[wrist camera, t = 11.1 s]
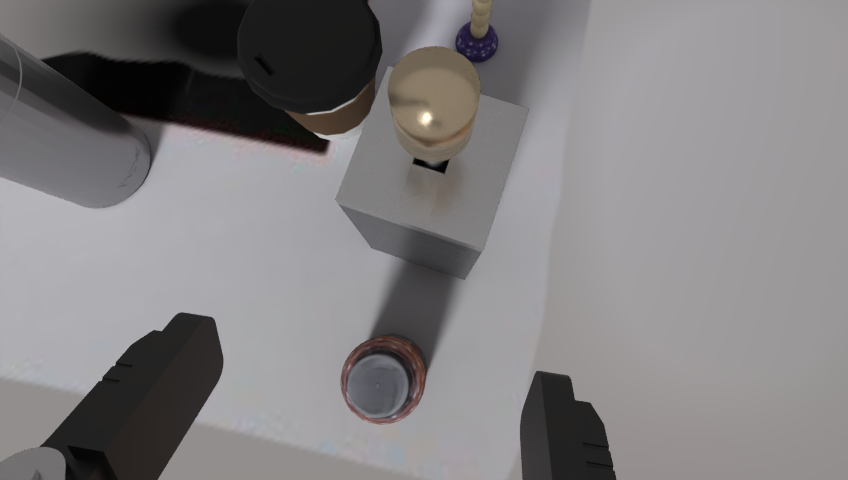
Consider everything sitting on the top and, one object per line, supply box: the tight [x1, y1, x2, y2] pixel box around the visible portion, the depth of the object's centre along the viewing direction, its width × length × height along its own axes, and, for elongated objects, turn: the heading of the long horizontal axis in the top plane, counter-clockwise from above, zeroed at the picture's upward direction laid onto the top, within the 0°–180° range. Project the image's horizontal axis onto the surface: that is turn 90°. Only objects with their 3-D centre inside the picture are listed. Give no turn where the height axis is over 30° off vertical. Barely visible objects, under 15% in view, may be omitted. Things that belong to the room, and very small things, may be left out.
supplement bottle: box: [341, 334, 427, 424], centre depth 34 cm, size 6×6×11 cm
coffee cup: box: [237, 0, 383, 141], centre depth 39 cm, size 11×11×12 cm
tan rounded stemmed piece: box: [388, 46, 481, 174], centre depth 28 cm, size 7×7×18 cm
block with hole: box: [335, 66, 529, 280], centre depth 35 cm, size 9×9×16 cm
